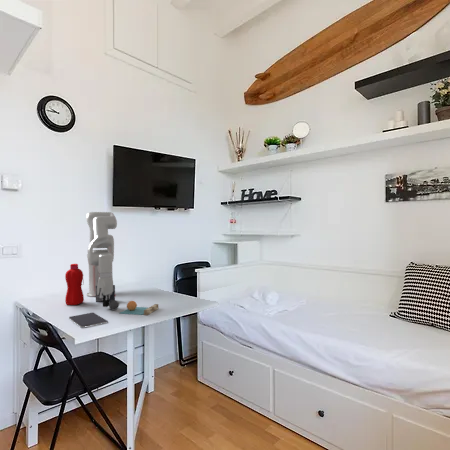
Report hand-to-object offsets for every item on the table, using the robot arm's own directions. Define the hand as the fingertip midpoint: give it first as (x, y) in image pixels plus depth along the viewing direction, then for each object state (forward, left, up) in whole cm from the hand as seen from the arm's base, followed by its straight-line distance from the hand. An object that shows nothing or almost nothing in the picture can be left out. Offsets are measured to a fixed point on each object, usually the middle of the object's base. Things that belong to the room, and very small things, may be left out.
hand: (106, 306), depth 188 cm
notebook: (+22, +4, -2) cm, 22 cm away
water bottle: (-7, -26, -2) cm, 27 cm away
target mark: (0, +20, -2) cm, 20 cm away
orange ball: (0, +17, +1) cm, 17 cm away
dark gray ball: (0, +6, +1) cm, 6 cm away
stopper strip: (0, +29, -2) cm, 29 cm away
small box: (-16, -11, -2) cm, 19 cm away
